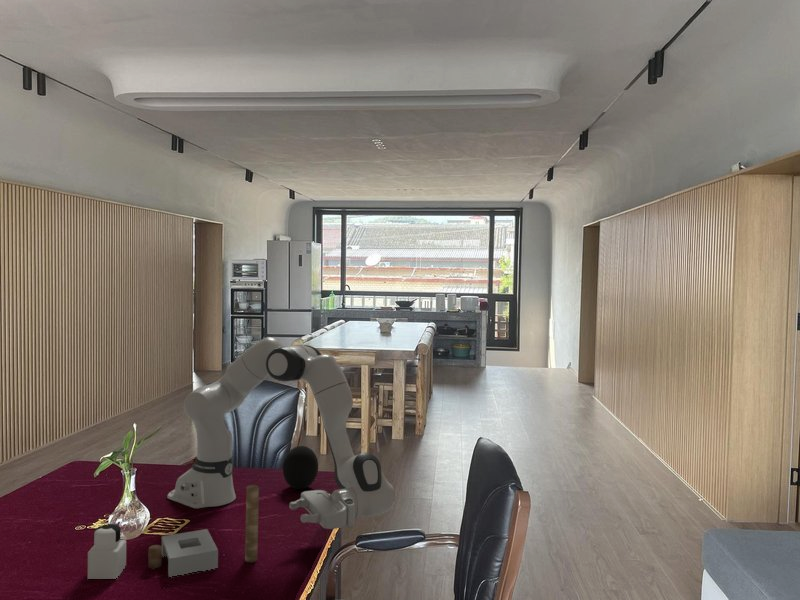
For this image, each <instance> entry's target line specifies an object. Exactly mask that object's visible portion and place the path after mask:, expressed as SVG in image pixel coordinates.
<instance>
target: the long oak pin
mask: <svg viewBox="0 0 800 600" xmlns="http://www.w3.org/2000/svg"><path fill="white" fill-rule="evenodd" d="M245 494H246V499H245V500H246V501H245V502H246V503H245V505H246V506H245V508H246V509H245V542H244V543H245V547H244V560H245V562H246V563H249V562H250V563H251V564H252V563H255V562H257V560H258V540H259V532H258V531H259V501H260V500H259V498H260V485H257V484H249V485H247V486H246V493H245Z"/></svg>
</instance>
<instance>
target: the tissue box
mask: <svg viewBox="0 0 800 600" xmlns="http://www.w3.org/2000/svg"><path fill="white" fill-rule="evenodd" d="M161 546H162V558H167V561H168V562H167V563H168V564H167V574H168V575H167V576H168V578H169V577H171V578H173V577H172V576H177V575H182V576H185V575H184V574H187V575H189V574H188V573H192V572H197V571H203V572H207V571H206V570H208V571H212V570H211V569H213V570H216V569H215V568H218V569H219V549H218V547H217V545H216V543H215V541H214V540H213V537H212V536H211V533H210V532H209V529H208V528H206V529H205V528H204V529H200V530H193V531H186V532H180V533H173V534H168V535H162V536H161ZM164 556H165V557H164ZM166 556H167V557H166ZM197 573H198V572H197ZM192 574H193V573H192ZM177 577H178V576H177Z"/></svg>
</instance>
